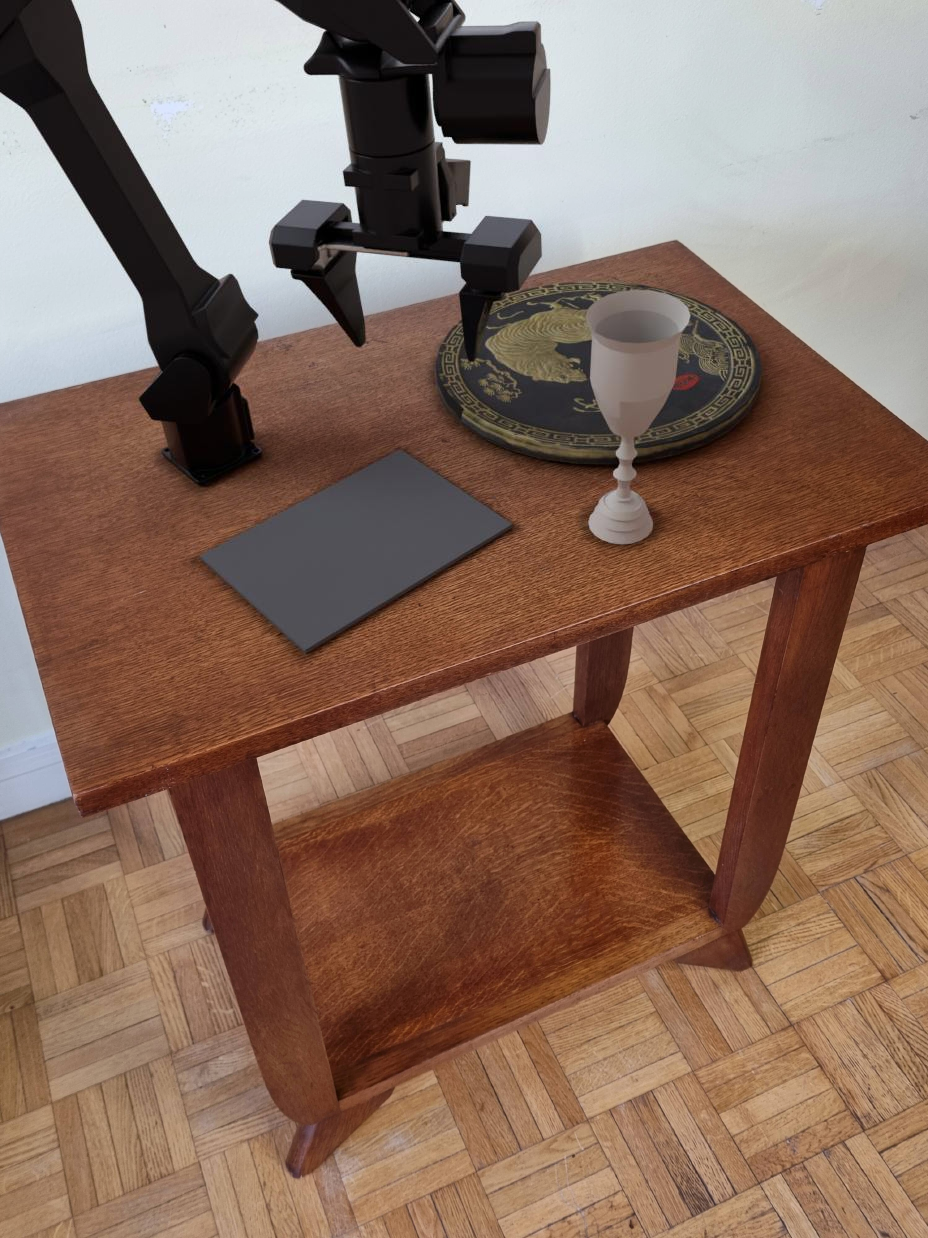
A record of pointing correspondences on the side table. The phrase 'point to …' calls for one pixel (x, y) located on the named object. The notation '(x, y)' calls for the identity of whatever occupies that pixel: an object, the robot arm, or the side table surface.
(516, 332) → the decorative plate
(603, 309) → the chalice
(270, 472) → the side table surface
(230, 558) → the felt mat
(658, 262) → the side table surface
